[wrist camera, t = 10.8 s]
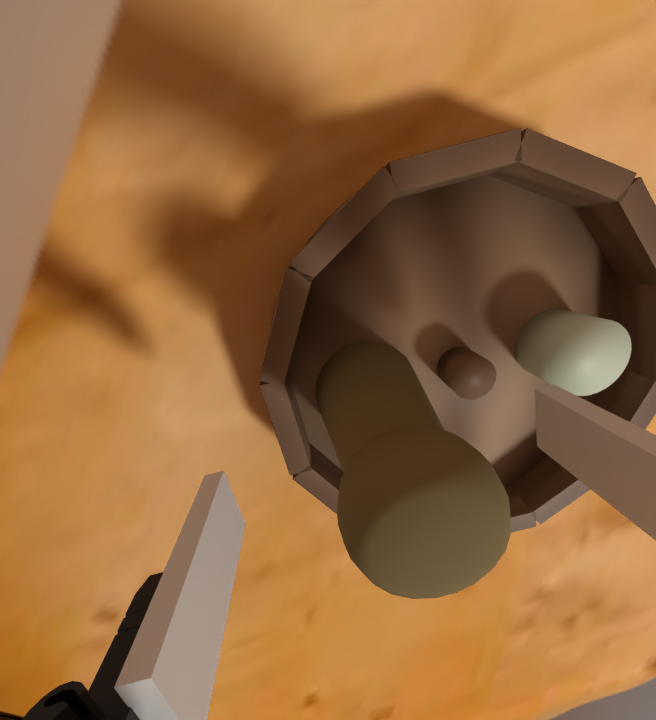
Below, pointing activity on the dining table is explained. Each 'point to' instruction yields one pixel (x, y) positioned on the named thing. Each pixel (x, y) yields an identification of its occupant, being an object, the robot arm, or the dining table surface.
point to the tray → (469, 300)
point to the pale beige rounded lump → (574, 350)
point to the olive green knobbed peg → (407, 479)
